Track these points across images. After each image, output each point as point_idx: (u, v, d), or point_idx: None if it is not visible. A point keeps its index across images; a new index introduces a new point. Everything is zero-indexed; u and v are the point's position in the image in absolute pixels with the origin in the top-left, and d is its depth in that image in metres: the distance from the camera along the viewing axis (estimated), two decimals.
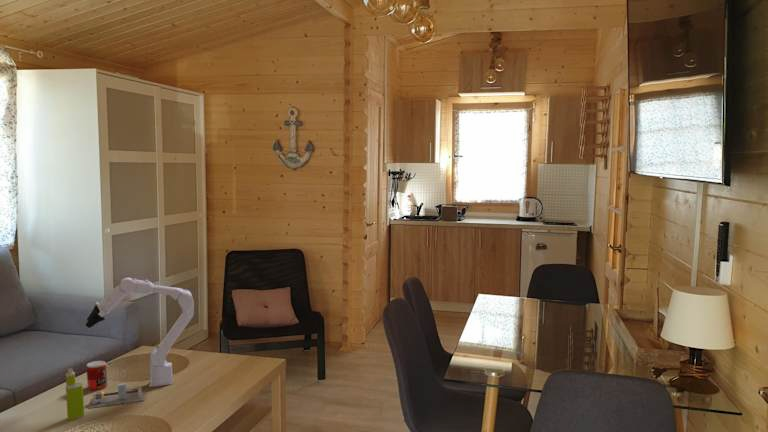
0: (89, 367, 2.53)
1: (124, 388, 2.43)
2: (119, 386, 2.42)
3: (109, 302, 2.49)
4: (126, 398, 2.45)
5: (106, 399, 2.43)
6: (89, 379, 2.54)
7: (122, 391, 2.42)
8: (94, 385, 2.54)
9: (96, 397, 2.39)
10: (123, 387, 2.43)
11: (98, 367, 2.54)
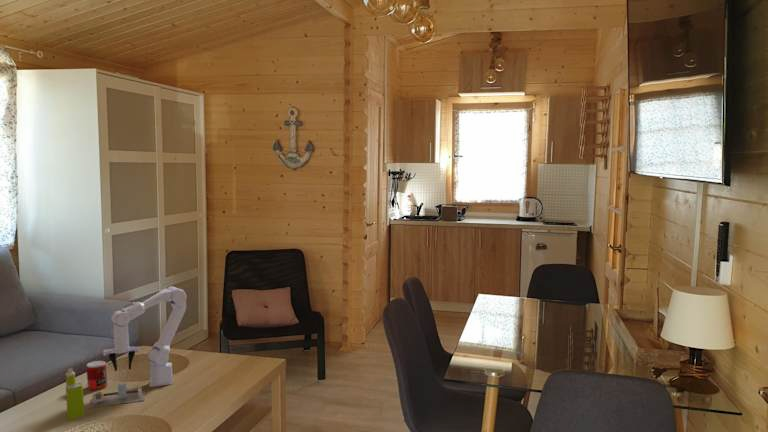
0: (89, 367, 2.53)
1: (124, 388, 2.43)
2: (119, 386, 2.42)
3: (128, 339, 2.50)
4: (126, 398, 2.45)
5: (106, 399, 2.43)
6: (89, 379, 2.54)
7: (122, 391, 2.42)
8: (94, 385, 2.54)
9: (96, 397, 2.39)
10: (123, 387, 2.43)
11: (98, 367, 2.54)
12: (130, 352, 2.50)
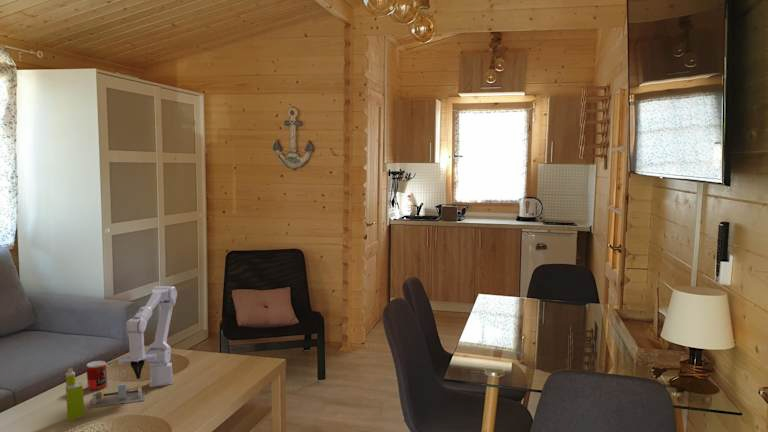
0: (89, 367, 2.53)
1: (124, 388, 2.43)
2: (119, 386, 2.42)
3: None
4: (126, 398, 2.45)
5: (106, 399, 2.43)
6: (89, 379, 2.54)
7: (122, 391, 2.42)
8: (94, 385, 2.54)
9: (96, 397, 2.39)
10: (123, 387, 2.43)
11: (98, 367, 2.54)
12: (146, 360, 2.45)
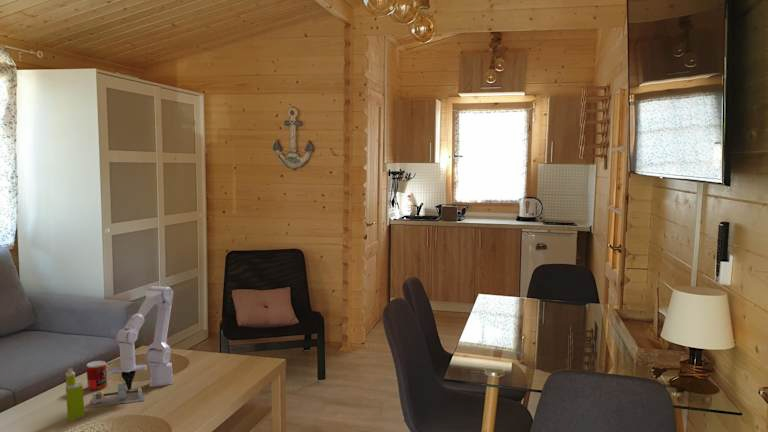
0: (89, 367, 2.53)
1: (124, 388, 2.43)
2: (119, 386, 2.42)
3: None
4: (126, 398, 2.45)
5: (106, 399, 2.43)
6: (89, 379, 2.54)
7: (122, 391, 2.42)
8: (94, 385, 2.54)
9: (96, 397, 2.39)
10: (123, 387, 2.43)
11: (98, 367, 2.54)
12: None
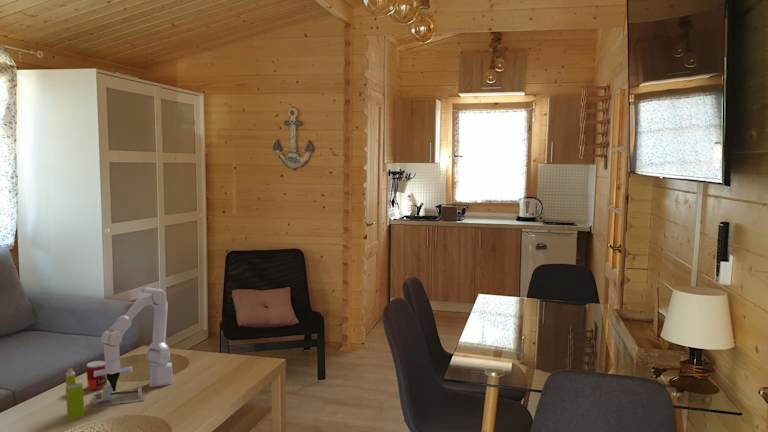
0: (89, 367, 2.53)
1: (109, 390, 2.41)
2: (104, 388, 2.40)
3: (119, 360, 2.42)
4: (126, 398, 2.45)
5: None
6: (89, 379, 2.54)
7: (107, 393, 2.40)
8: (94, 385, 2.54)
9: (96, 397, 2.39)
10: (108, 389, 2.41)
11: (98, 367, 2.54)
12: None
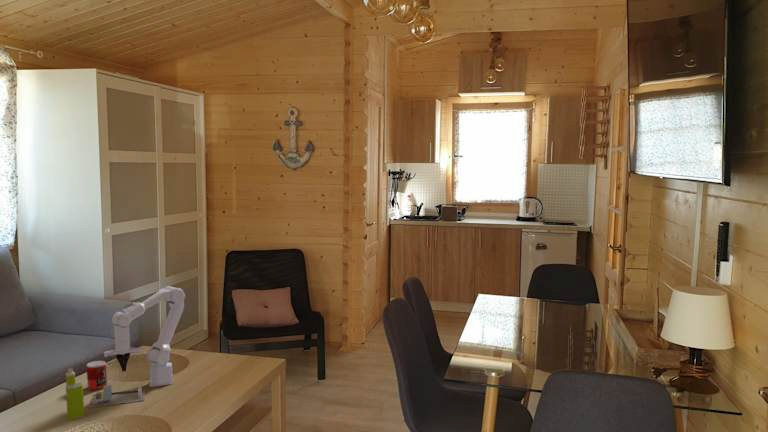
0: (89, 367, 2.53)
1: (109, 390, 2.41)
2: (104, 388, 2.40)
3: (129, 341, 2.48)
4: (126, 398, 2.45)
5: None
6: (89, 379, 2.54)
7: (107, 393, 2.40)
8: (94, 385, 2.54)
9: (96, 397, 2.39)
10: (108, 389, 2.41)
11: (98, 367, 2.54)
12: (131, 353, 2.48)
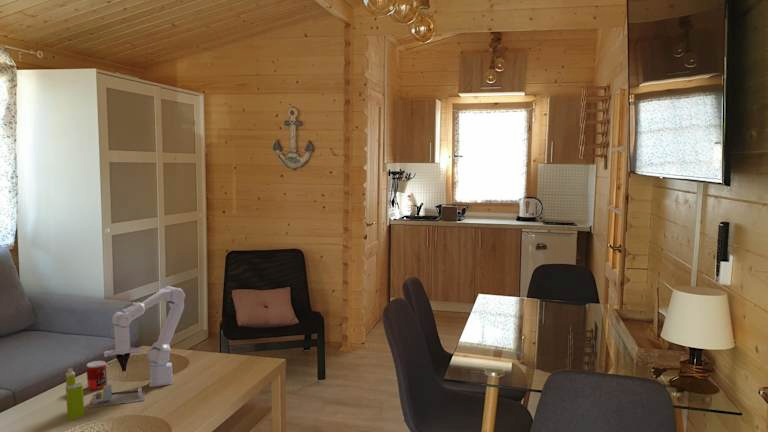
0: (89, 367, 2.53)
1: (109, 390, 2.41)
2: (104, 388, 2.40)
3: (129, 341, 2.48)
4: (126, 398, 2.45)
5: None
6: (89, 379, 2.54)
7: (107, 393, 2.40)
8: (94, 385, 2.54)
9: (96, 397, 2.39)
10: (108, 389, 2.41)
11: (98, 367, 2.54)
12: (131, 353, 2.48)
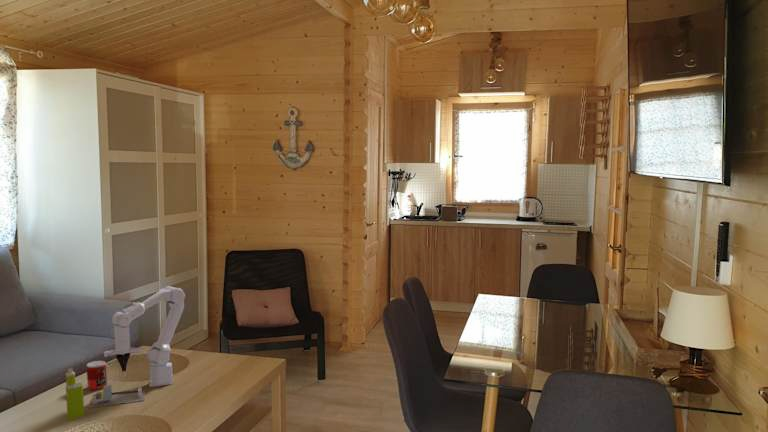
0: (89, 367, 2.53)
1: (109, 390, 2.41)
2: (104, 388, 2.40)
3: (129, 341, 2.48)
4: (126, 398, 2.45)
5: None
6: (89, 379, 2.54)
7: (107, 393, 2.40)
8: (94, 385, 2.54)
9: (96, 397, 2.39)
10: (108, 389, 2.41)
11: (98, 367, 2.54)
12: (131, 353, 2.48)
